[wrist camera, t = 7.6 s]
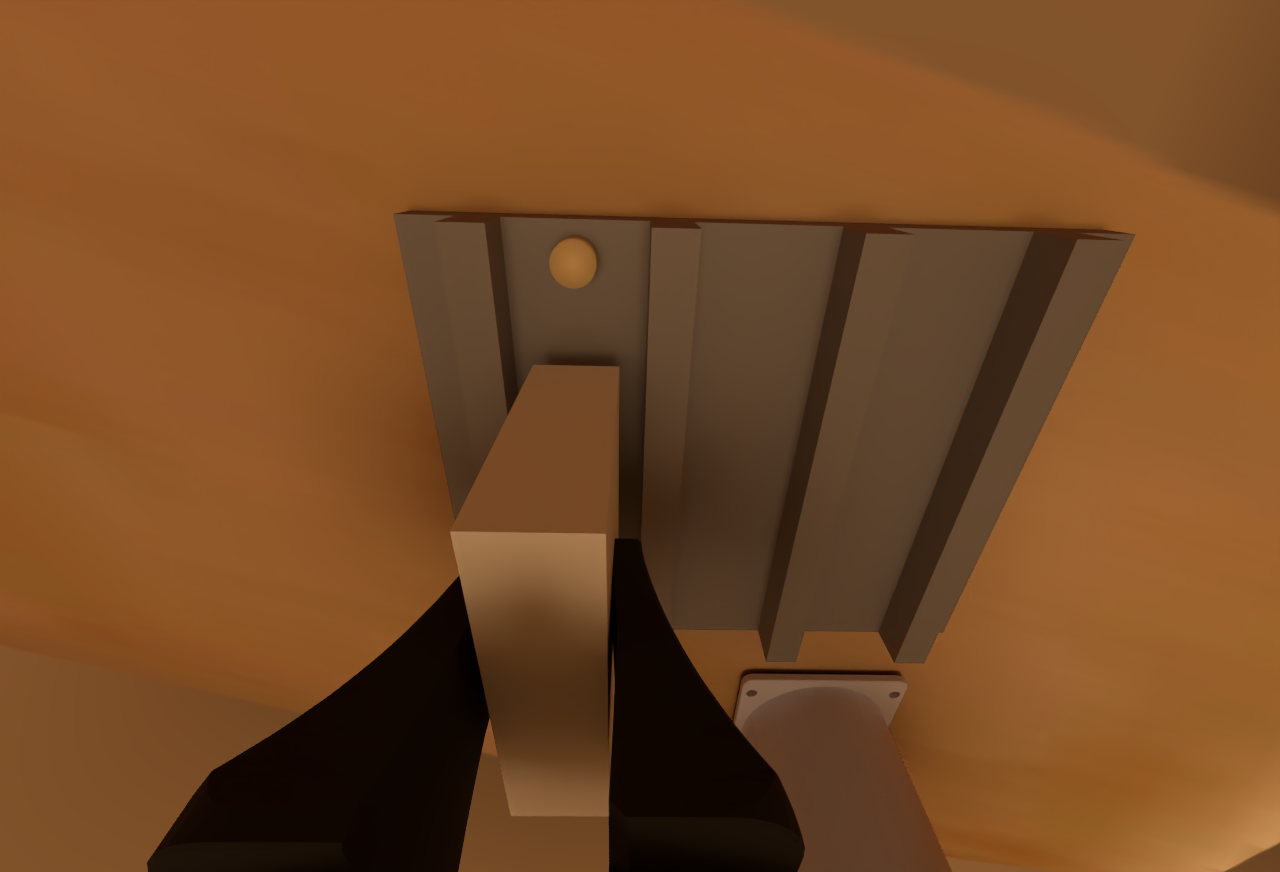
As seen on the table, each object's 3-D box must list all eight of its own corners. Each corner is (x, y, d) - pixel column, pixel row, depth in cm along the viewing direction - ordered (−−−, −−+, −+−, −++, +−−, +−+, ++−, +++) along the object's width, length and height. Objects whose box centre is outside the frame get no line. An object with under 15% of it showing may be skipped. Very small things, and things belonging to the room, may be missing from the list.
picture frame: (618, 594, 18) (609, 816, 12) (549, 594, 18) (505, 815, 12) (619, 366, 14) (605, 533, 8) (528, 364, 14) (441, 531, 8)
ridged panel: (930, 613, 22) (963, 663, 20) (482, 607, 22) (465, 657, 19) (1105, 229, 14) (1190, 242, 12) (408, 210, 14) (366, 219, 12)
